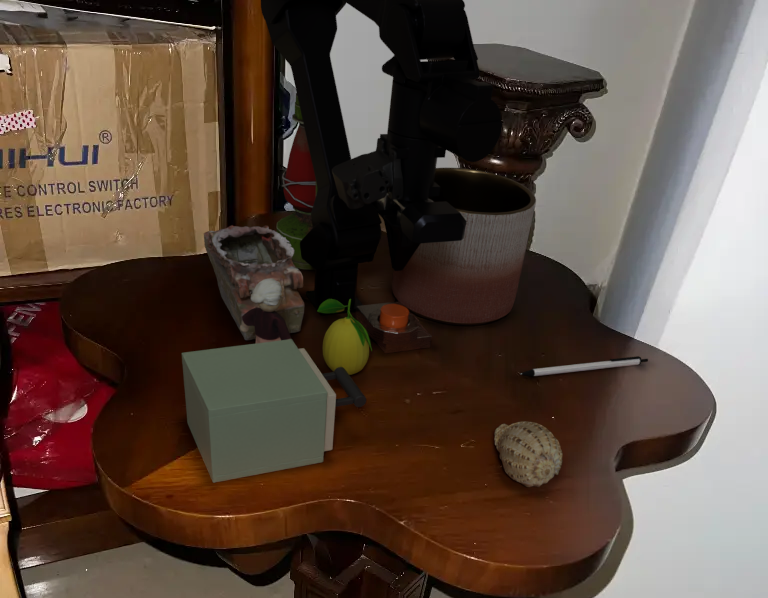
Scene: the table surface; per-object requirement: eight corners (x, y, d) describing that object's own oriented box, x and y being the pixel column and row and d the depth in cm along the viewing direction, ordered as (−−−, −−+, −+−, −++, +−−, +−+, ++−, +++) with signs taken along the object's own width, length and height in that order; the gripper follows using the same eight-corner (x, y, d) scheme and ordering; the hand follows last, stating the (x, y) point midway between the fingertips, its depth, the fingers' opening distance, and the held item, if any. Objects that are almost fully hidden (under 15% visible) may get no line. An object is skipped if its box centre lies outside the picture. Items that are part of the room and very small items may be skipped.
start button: (375, 317, 99) (376, 305, 97) (400, 314, 100) (401, 302, 99) (386, 331, 96) (387, 318, 95) (412, 327, 97) (413, 315, 96)
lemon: (314, 361, 95) (318, 285, 88) (361, 361, 96) (368, 285, 90) (321, 391, 90) (326, 312, 84) (371, 390, 91) (379, 312, 85)
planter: (434, 339, 102) (453, 221, 92) (368, 283, 113) (378, 171, 103) (537, 318, 110) (565, 207, 100) (466, 267, 121) (484, 162, 110)
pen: (648, 364, 102) (650, 357, 102) (521, 378, 96) (523, 371, 96) (644, 361, 103) (646, 353, 102) (518, 375, 97) (520, 367, 96)
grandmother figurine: (304, 384, 91) (308, 282, 83) (288, 399, 88) (290, 295, 80) (248, 365, 93) (246, 264, 85) (230, 379, 90) (226, 276, 82)
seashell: (471, 479, 85) (534, 497, 77) (465, 427, 83) (529, 439, 75) (523, 460, 88) (589, 476, 80) (519, 409, 86) (586, 420, 78)
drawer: (337, 396, 88) (340, 343, 84) (369, 443, 82) (375, 388, 77) (209, 416, 83) (206, 360, 78) (233, 468, 76) (231, 410, 72)
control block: (344, 318, 104) (346, 294, 102) (398, 312, 107) (401, 288, 105) (378, 360, 97) (380, 335, 94) (434, 352, 100) (438, 327, 97)
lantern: (353, 273, 115) (370, 42, 95) (283, 275, 112) (285, 38, 93) (331, 236, 125) (343, 20, 105) (266, 237, 122) (265, 15, 102)
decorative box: (199, 350, 94) (194, 275, 88) (183, 278, 108) (177, 209, 102) (305, 344, 98) (308, 271, 92) (276, 275, 112) (276, 208, 106)
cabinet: (290, 407, 87) (291, 338, 81) (323, 462, 80) (327, 391, 74) (187, 423, 83) (181, 352, 77) (212, 483, 76) (208, 410, 70)
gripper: (314, 105, 86) (308, 241, 96) (378, 162, 73) (363, 312, 84) (405, 105, 90) (390, 236, 100) (480, 160, 77) (454, 303, 88)
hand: (397, 269), depth 93 cm, fingers closed
